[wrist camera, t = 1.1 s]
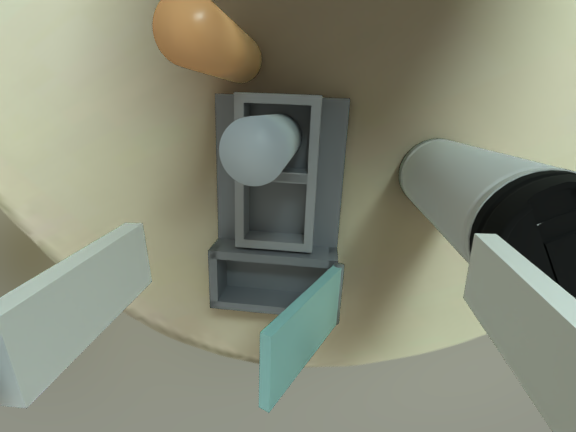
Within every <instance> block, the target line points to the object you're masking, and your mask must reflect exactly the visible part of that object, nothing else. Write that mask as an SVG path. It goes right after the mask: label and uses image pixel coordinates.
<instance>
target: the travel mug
mask: <svg viewBox="0 0 576 432" xmlns="http://www.w3.org/2000/svg"><path fill="white" fill-rule="evenodd" d="M399 182H400V186H401V188H402V190H403V192H404V193H405V195H406V196H407V197H408V198H409V199H410V200H411V201H412V202H413V203H414V205H415V206H416V207H417V208H418V209H419V210H420V211H421V212H422V213H423V214H424V215H425V217H426V218H427V219H428V220H429V221H430V222H431V223H432V224H433V225H434V226H435V227H436V229H437V230H438V231H439V232H440V233H441V234H442V235H443V236H444V237H445V238H446V239H447V240H448V242H449V243H450V244H451V245H452V246H453V247H454V248H455V249H456V250H457V251H458V252H459V254H460V255H461V256H462V257H463V258H464V259H465V260H466V261H467V262H468V263H469V262H470V256H471V250H472V244H473V239H474V233H480V234H497V235H498V236H499V237H501V238H502V239H503V240H504V241H505V242H507V243H508V244H509V245H510V246H512V247H513V248H514V249H515V250H516V251H518V252H519V253H520V254H521V255H523V256H524V257H525V258H526V259H528V260H529V261H530V262H531V263H532V264H534V265H535V266H536V267H537V268H539V269H540V270H541V271H542V272H543V273H545V274H546V275H547V276H548V277H550V278H551V279H552V280H553V281H554V282H556V283H557V284H558V285H559V286H561V287H562V288H563V289H564V290H565V291H567V292H568V293H569V294H570V295H572V296H573V297H574V298H575V299H576V172H574V171H571V170H567V169H563V168H558V167H555V166H551V165H547V164H543V163H539V162H535V161H531V160H526V159H522V158H518V157H514V156H510V155H506V154H502V153H498V152H494V151H490V150H486V149H482V148H478V147H474V146H470V145H466V144H462V143H458V142H454V141H450V140H446V139H438V138H436V139H429V140H426V141H423V142H421V143H419V144H417V145H416V146H414V147H413V148H412V149H411V150H410V151H409V152H408V153H407V154H406V155H405V157H404V159H403V161H402V163H401V166H400V169H399Z"/></svg>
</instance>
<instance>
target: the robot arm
mask: <svg viewBox="0 0 576 432" xmlns="http://www.w3.org/2000/svg"><path fill="white" fill-rule="evenodd" d="M151 282H152V278H151V272H150V265H149V259H148V253H147V247H146V240H145V234H144V228H143V223H124V224H123V225H121V226H119V227H118V228H116V229H114V230H113V231H111V232H109V233H107V234H106V235H104V236H102V237H101V238H99V239H97V240H96V241H94V242H92V243H91V244H89V245H87V246H86V247H84V248H82V249H81V250H79V251H77V252H76V253H74V254H72V255H71V256H69V257H67V258H66V259H64V260H62V261H61V262H59V263H57V264H56V265H54V266H52V267H50V268H49V269H47V270H45V271H44V272H42V273H40V274H39V275H37V276H35V277H34V278H32V279H30V280H29V281H27V282H25V283H24V284H22V285H21V286H19V287H17V288H15V289H14V290H12V291H10V292H9V293H7V294H5V295H4V296H2V297H0V405H1V406H8V407H18V408H28V406H29V405H31V403H32V402H33V401H34V400H35V399H36V398H37V397H38V396H39V395H40V394H41V393H42V392H43V391H44V390H45V389H46V388H47V387H48V386H49V385H50V384H51V383H52V382H53V381H54V380H55V379H56V378H57V377H58V376H59V375H60V374H61V373H62V372H63V371H64V370H65V369H66V368H67V367H68V366H69V365H70V364H71V363H72V362H73V361H74V360H75V359H76V358H77V357H78V356H79V355H80V354H81V353H82V352H83V351H84V350H85V349H86V348H87V347H88V346H89V345H90V344H91V343H92V342H93V341H94V340H95V339H96V338H97V337H98V336H99V335H100V334H101V333H102V332H103V331H104V330H105V329H106V328H107V327H108V326H109V325H110V324H111V323H112V322H113V320H115V319H116V318H117V316H118V315H119V314H120V313H121V312H122V311H123V310H124V309H125V308H126V307H127V306H128V305H129V304H130V303H131V302H132V301H133V300H134V299H135V298H136V297H137V296H138V295H139V294H140V293H141V292H142V291H143V290H144V289H145V288H146V287H147V286H148V285H149V284H150V283H151ZM463 298H464V300H465V301H466V303H467V304H468V306H469V307H470V309H471V310H472V312H473V313H474V315H475V316H476V318H477V319H478V321H479V322H480V324H481V325H482V327H483V328H484V330H485V331H486V333H487V334H488V336H489V337H490V339H491V340H492V342H493V343H494V345H495V346H496V348H497V349H498V351H499V352H500V354H501V355H502V357H503V358H504V360H505V361H506V363H507V364H508V366H509V367H510V369H511V370H512V372H513V373H514V375H515V376H516V378H517V379H518V381H519V382H520V384H521V385H522V387H523V388H524V390H525V391H526V393H527V395H528V396H529V398H530V399H531V401H532V402H533V403H534V405H535V407H536V408H537V410H538V411H539V412H540V414H541V415H542V417H543V418H544V420H545V421H546V423H547V425H548V426H549V428H550V429H551V431H552V432H576V299H575V298H574V297H573V296H572V295H570V294H569V293H568V292H567V291H565V290H564V289H563V288H562V287H561V286H559V285H558V284H557V283H556V282H554V281H553V280H552V279H551V278H550V277H548V276H547V275H546V274H545V273H543V272H542V271H541V270H540V269H539V268H537V267H536V266H535V265H534V264H532V263H531V262H530V261H529V260H528V259H526V258H525V257H524V256H523V255H521V254H520V253H519V252H518V251H516V250H515V249H514V248H513V247H512V246H510V245H509V244H508V243H507V242H505V241H504V240H503V239H502V238H501V237H499V236H498V235H497V234H480V233H474V239H473V244H472V250H471V256H470V262H469V267H468V273H467V279H466V285H465V290H464V296H463Z"/></svg>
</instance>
